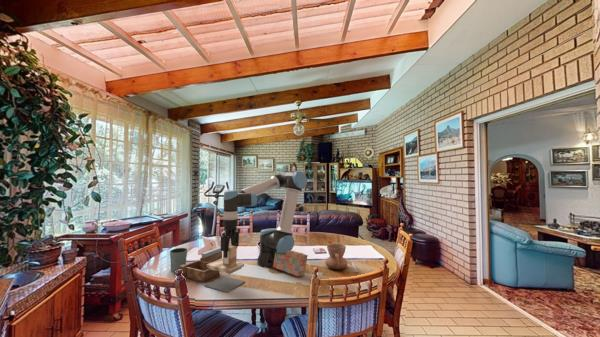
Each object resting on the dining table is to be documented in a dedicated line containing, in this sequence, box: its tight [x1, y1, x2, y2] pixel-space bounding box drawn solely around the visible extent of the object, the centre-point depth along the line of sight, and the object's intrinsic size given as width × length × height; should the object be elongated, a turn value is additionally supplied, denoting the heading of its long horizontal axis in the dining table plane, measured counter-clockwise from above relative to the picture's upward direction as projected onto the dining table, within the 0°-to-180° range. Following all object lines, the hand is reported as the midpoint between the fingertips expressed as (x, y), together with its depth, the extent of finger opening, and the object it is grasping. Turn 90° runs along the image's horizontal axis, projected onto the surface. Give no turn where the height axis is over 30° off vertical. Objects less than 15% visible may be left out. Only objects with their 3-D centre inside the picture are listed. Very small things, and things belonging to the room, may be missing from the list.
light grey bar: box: [201, 246, 222, 258], centre depth 161 cm, size 3×17×2 cm, turn 154°
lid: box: [206, 244, 245, 275], centre depth 134 cm, size 17×11×12 cm, turn 64°
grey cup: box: [169, 247, 188, 272], centre depth 155 cm, size 10×10×12 cm
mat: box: [204, 275, 246, 294], centre depth 133 cm, size 16×14×1 cm
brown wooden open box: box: [179, 251, 223, 283], centre depth 150 cm, size 18×31×8 cm, turn 154°
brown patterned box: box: [272, 250, 308, 277], centre depth 151 cm, size 21×6×12 cm, turn 51°
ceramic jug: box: [324, 242, 349, 271], centre depth 159 cm, size 18×14×14 cm
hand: (229, 261), depth 132 cm, fingers closed on lid, 4 cm apart
